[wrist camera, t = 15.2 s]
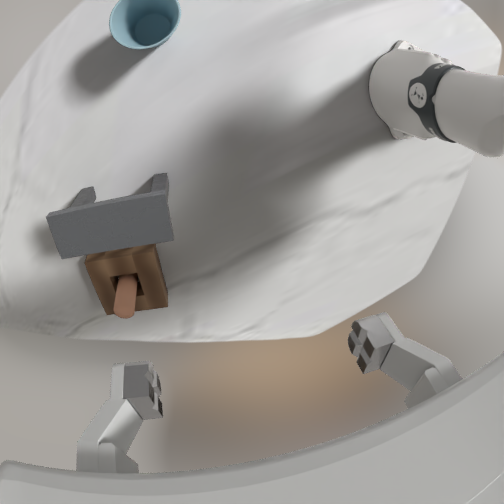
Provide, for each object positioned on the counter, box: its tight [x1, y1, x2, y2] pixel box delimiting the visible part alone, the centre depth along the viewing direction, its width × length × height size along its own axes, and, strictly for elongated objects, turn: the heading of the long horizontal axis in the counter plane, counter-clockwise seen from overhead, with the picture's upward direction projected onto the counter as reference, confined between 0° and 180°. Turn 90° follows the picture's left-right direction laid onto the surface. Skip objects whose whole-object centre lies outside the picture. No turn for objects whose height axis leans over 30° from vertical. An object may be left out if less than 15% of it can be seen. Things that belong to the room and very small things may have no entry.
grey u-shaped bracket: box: [46, 173, 174, 259], centre depth 37 cm, size 15×6×13 cm, turn 91°
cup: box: [109, 0, 181, 49], centre depth 26 cm, size 8×8×10 cm
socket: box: [85, 244, 168, 315], centre depth 50 cm, size 12×12×4 cm
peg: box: [113, 273, 138, 318], centre depth 47 cm, size 3×3×10 cm
